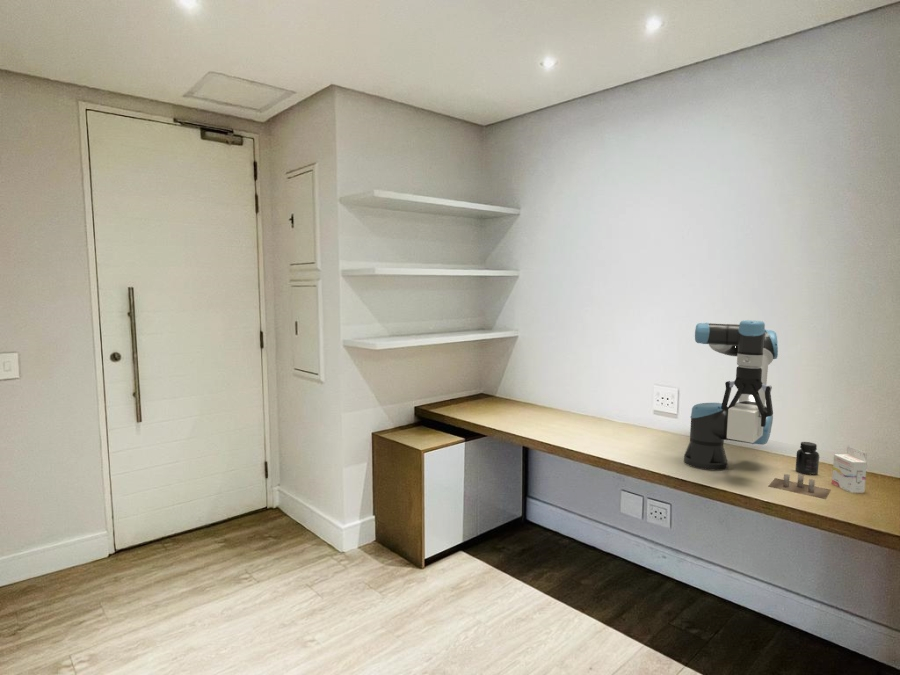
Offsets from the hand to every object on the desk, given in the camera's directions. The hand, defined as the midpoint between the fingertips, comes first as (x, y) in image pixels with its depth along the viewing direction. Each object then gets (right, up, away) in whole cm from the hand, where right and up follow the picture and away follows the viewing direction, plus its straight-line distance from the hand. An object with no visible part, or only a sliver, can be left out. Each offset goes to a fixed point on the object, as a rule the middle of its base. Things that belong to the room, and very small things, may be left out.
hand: (745, 433), depth 186 cm
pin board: (+15, -19, -5) cm, 24 cm away
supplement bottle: (+28, -17, +11) cm, 34 cm away
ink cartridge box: (+31, -19, -5) cm, 37 cm away
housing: (0, -1, 0) cm, 1 cm away
